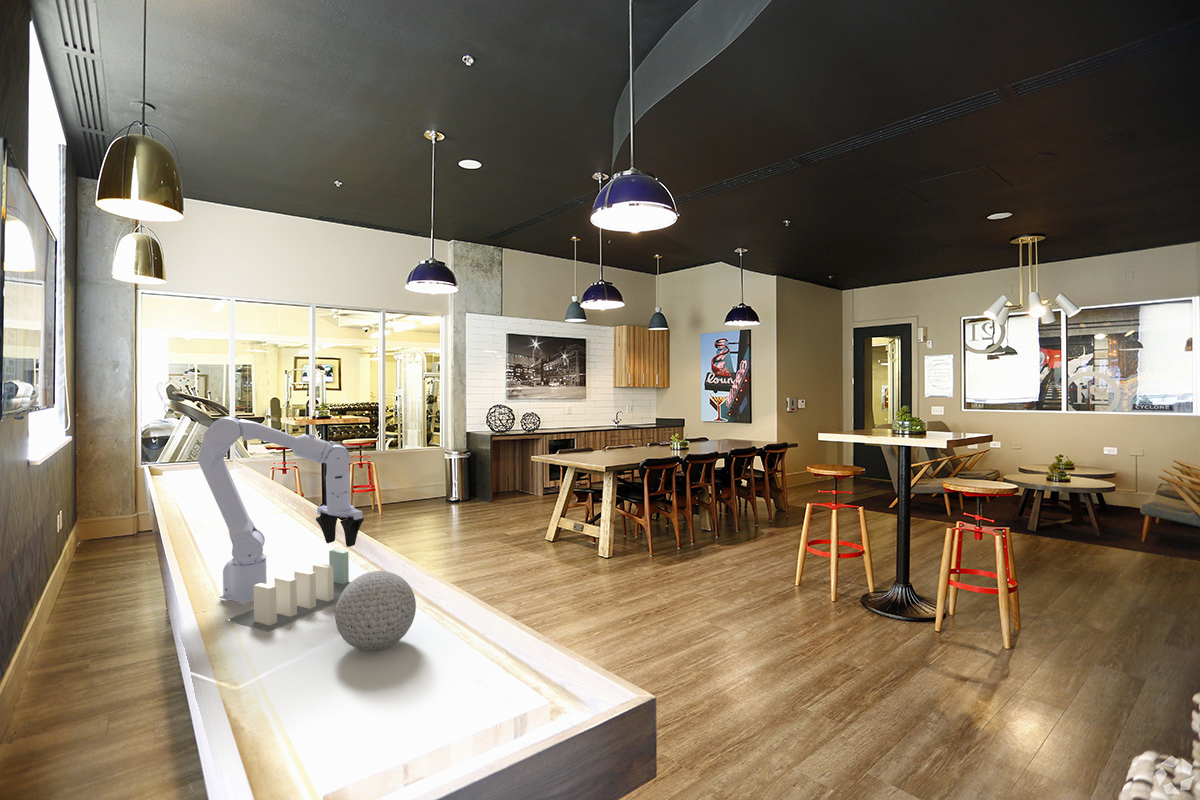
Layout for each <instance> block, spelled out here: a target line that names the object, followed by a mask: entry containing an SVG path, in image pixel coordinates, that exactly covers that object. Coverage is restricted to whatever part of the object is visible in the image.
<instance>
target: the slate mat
mask: <svg viewBox="0 0 1200 800" xmlns="http://www.w3.org/2000/svg"><path fill="white" fill-rule="evenodd" d="M351 582H352V581H349V582H348V583H345V584H341V583H336V582H334V599H333V600H330V601H325V600H320V599H316V607H313V608H311V609H309V608H304V607H300V606H297V614H296V615H294V616H292V617H289V616H285V615H281V614H277V623H275V624H272V625H266V624H262V623H259V622H255V621H254V608H252V609H251V610H247V611H245V612H242V613H239V614H236V615H234V616H232V617H231V616H230V617H229V618H228V619H230V621H231V623H234V624H238V625H241V626H246V627H249V628H252V629H257V630H260V631H263V632H266V633H267V632H272V631H273V630H274V631H275V630H277V629H278V628H281V627H284V626H286V625H288V624H290V623H292V622H295V621H297V620H299V619H301V618H304V617H308V616H309V615H312V614H313V613H316V612H318V611H322V610H324V609H325V608H328V607H331V606H333V605H335V604H337V602H338V599H339V597H340V595H341V593H342V592H343V590H344V589H345V588H346V587H347V585H348V584H349V583H351ZM230 621H229V622H230Z"/></svg>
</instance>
